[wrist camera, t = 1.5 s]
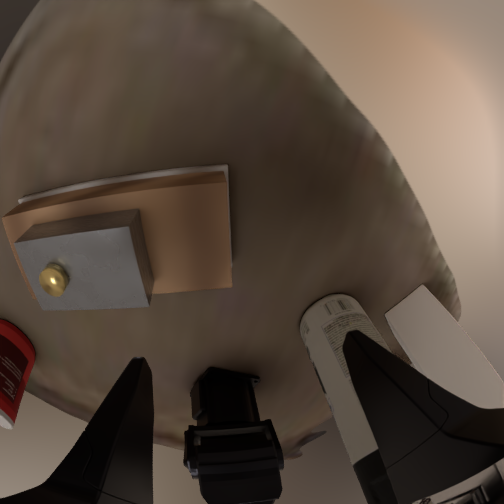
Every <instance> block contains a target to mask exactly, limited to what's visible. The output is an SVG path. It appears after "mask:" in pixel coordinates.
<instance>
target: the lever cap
mask: <svg viewBox="0 0 504 504" xmlns="http://www.w3.org/2000/svg"><path fill="white" fill-rule="evenodd" d="M14 246H15V248H16V251H17V254H18V256H19V259H20V262H21V264H22V267H23V269H24V271H25V274H26V276H27V278H28V281H29V283H30V285H31V287H32V289H33V292H34V294H35V296H36V298H37V300H38V302H39V304H40V306H41V308H42V310H89V309H117V308H137V307H149V306H150V301H151V296H152V291H153V287H154V282H155V281H154V277H153V272H152V268H151V264H150V259H149V255H148V250H147V246H146V241H145V236H144V231H143V226H142V220H141V215H140V209H139V208H136V209H129V210H121V211H114V212H107V213H100V214H93V215H87V216H80V217H74V218H68V219H62V220H57V221H51V222H46V223H41V224H35V225H32V226H31V227H30V228H29V229H28V230H27V231H26V232H25V233H24V234H23V235H22V236H20V237H19V238H18V239H17V240H16V241H15V242H14Z"/></svg>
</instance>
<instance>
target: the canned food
mask: <svg viewBox="0 0 504 504" xmlns="http://www.w3.org/2000/svg"><path fill="white" fill-rule="evenodd" d="M34 362H35V351H34V348H33V346H32V344H31V342H30V341H29V339H28V338H27V337H26V336H25V335H24V334H23V333H22V332H21V331H20V330H19V329H18V328H17V327H15V326H14V325H13V324H11V323H9V322H7V321H5V320H0V426H2V427H4V428H7V429H12V428H13V426H14V423H15V419H16V417H17V413H18V409H19V406H20V403H21V399H22V396H23V393H24V390H25V387H26V384H27V381H28V378H29V376H30V373H31V370H32V368H33V365H34Z"/></svg>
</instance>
